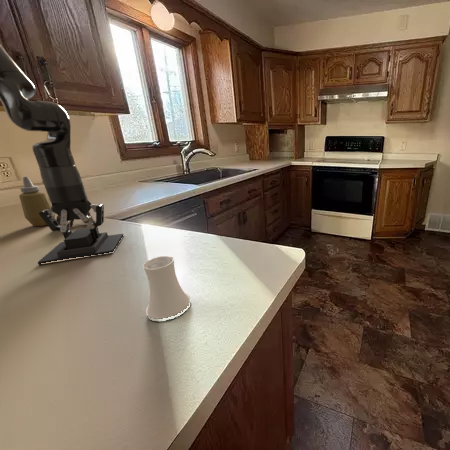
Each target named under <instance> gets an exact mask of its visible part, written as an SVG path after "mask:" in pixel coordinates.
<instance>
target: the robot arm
mask: <svg viewBox="0 0 450 450" xmlns="http://www.w3.org/2000/svg"><path fill="white" fill-rule="evenodd" d="M36 92H37V89H36V87H35V85H34V83H33V82H32V81H31V80H30V78H29V77H28V76H27V75H26V73H25V72H24V71H23V70H22V68H20V66H19V65H18V64H17V63H16V62H15V61H14V60H13V58H12V57H11V56H10V54H9V53H8V52H7V51H6V49H5V48H4V47H3V45H2V44H1V43H0V102H1V104H2V107H3V109H4V111H5V113H6V115H7V118H8V119H9V120H10V122H11V123H12V124H14V125H15V126H16V127H18V128H19V129H22V130H24V131H27V132H35V133H36V132H38V133H39V132H41V133H42V132H45V133H46V132H47V135H46V139H45V140H43V141H39V142H35V143H34V144H32V146H31V148H32V153H33V155H34V157H35V160H36V164H37V165H38V169H39V173H40V178H41V180H42V182H41V183H42V185H43V186H44V188H45V191H46V193H47V195H48V196H47V197H48V200H49V202H50V204H51V206H52V207H51V209H48V210H47V209H45V210H43V211H41V212H39V215H40V216H41V217H42V219H43V220H44V221H45V223H46V224H47V225H46V226H47V227H48V228H49V229H50V230H51V232H60V233H61V234H62V236H63V238H64V239H63V240H65V239H66V238H67V237H68V236H69V235H71V234H72V233H73V230H72V229H70V228H69V227H70V222H71V220H74V221H75V220H81V221H82V223H84V224H86V226H87V228H90V229H89V230H90V233H91V235H92V238H93V240H94V241H96V240H97V239H98V238H99V237H100V234H99V233H100V231H99V228H98V227H100V226H102V225H103V224H104V222H105V205H104V204H103V203H99V204H96V203H94V204H93V203H91V202H90V201H89V199H88V195H87V192H86V189H85V186H84V182H83V180H82V177H81V173H80V172H79V169H78V167H77V165H76V162H75V159H74V156H73V153H72V149H71V132H72V131H71V130H72V129H71V127H72V126H71V118H70V116H69V115H68V113H67V111H66V110H65V108H64V107H62V106H61V105H60V104H59V103H56V102H52V101H48V100H47V101H45V100H37V99H32V98H33V97H35V95H36ZM91 209H92V210H93V212H94V213H95V219H94V218H93V216H92V215H91V214H89V213H90V211H91ZM53 212H54V213H55V215H57V216H58V215H59V216H60V217H61V221H60V224H61V226H60V225H59V223H58V222H57V220H56V219H57V218H56V217H55V218H54V217H53V216H54V213H53ZM87 215H88V216H87Z"/></svg>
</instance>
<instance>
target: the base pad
mask: <svg viewBox="0 0 450 450" xmlns="http://www.w3.org/2000/svg"><path fill="white" fill-rule="evenodd" d="M99 234H100V237H99V238H98V239H97V240H96V241H95V242H94V243H93V244H92V245H91V246H90V247H83V248H76V249H70V250H67V248H66V245H65V242H64V241H61V242H59V243H58V245H56V246H55V247H54V248H52V249H51V250H50V251H49V252H48V253H47V254H45V255H44V256H43V257H42V258H40V259H39V260H38V261H37V264H41V263H46V262H51V261H57V260H63V259H69V258H76V257H84V256H91V255H98V254H104V253H109V252H113V251H114V249H115V248H116V246H117V245H118V243H119V241H120V240H121V238H122V237H123V235H124V233H118V234H111V235H110V234H109V235H108V232H107V231H105V232H99ZM123 238H124V237H123ZM121 241H122V240H121ZM119 244H120V243H119ZM118 246H119V245H118ZM116 249H117V248H116ZM114 252H115V251H114Z"/></svg>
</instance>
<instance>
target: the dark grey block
mask: <svg viewBox="0 0 450 450" xmlns="http://www.w3.org/2000/svg"><path fill="white" fill-rule="evenodd" d="M89 229H90V228H89V227H83V228H76V229H75V230H73V231H72V234H71V235H69V236H68V237H67V238H66V239H63V242H65V245H66V248H67V250H70V249H76V248H83V247H90V246H91V245H92V244H93V243H94V242H95V241H94V240H93V238H92V235H91V233H90V230H89Z"/></svg>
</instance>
